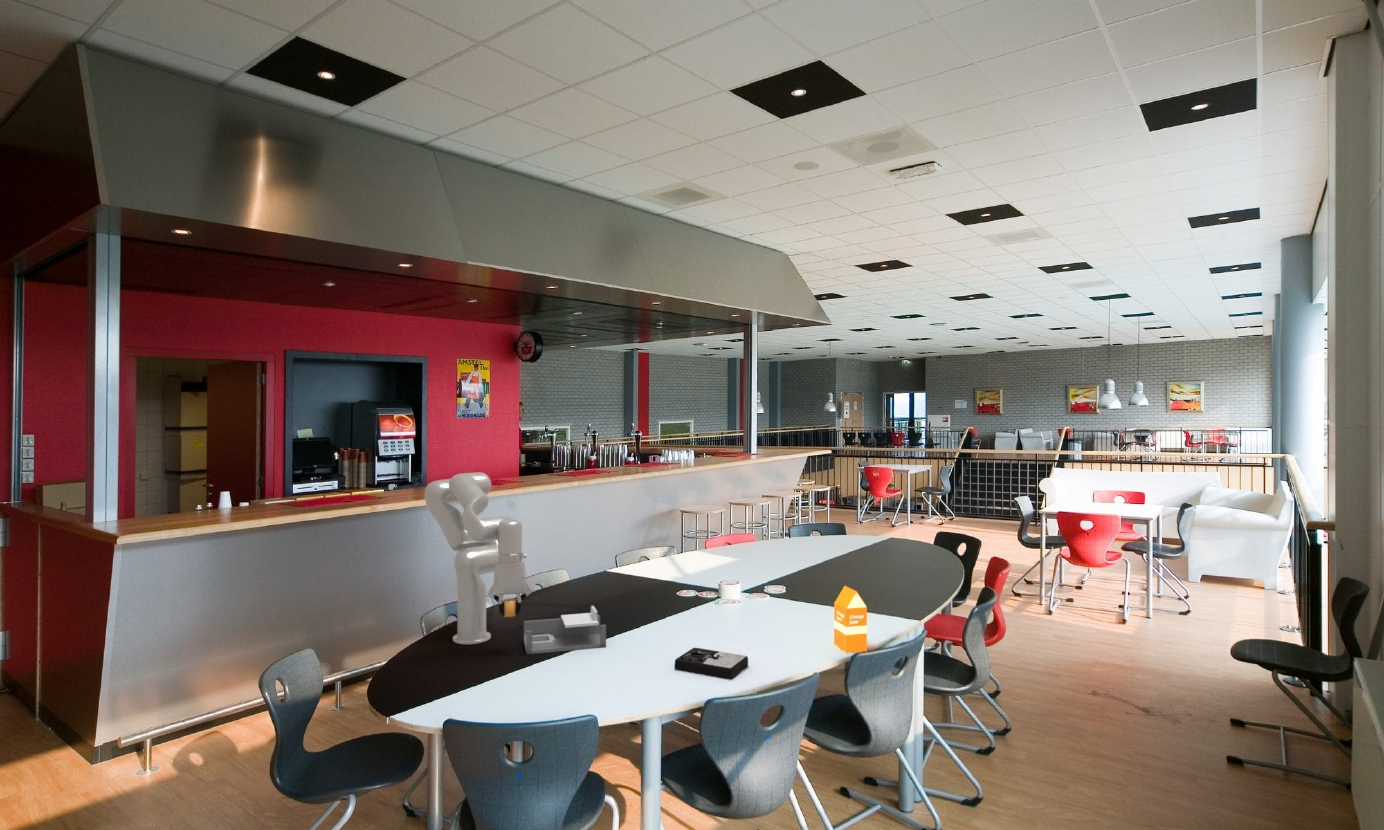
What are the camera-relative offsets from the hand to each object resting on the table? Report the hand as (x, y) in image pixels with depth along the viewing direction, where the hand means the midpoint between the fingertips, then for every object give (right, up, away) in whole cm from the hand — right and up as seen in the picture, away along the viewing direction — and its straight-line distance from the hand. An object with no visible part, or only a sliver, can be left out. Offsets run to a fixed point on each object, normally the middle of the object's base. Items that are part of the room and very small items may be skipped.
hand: (509, 614), depth 242 cm
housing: (+16, -13, +10) cm, 23 cm away
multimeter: (+65, -14, -12) cm, 67 cm away
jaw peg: (0, 0, 0) cm, 0 cm away
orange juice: (+112, -13, +7) cm, 113 cm away
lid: (+21, -5, +12) cm, 24 cm away
